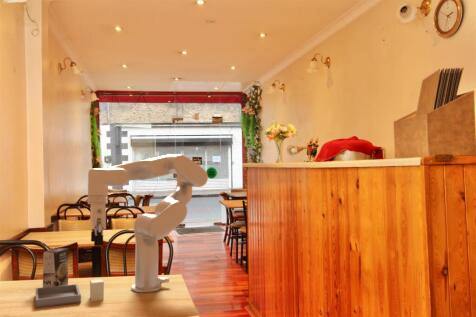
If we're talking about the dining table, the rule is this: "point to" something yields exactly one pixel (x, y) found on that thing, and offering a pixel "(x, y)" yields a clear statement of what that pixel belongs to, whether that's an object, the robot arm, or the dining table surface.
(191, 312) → the dining table surface
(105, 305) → the dining table surface
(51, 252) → the coffee box
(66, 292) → the tray
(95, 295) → the cream rectangular block
